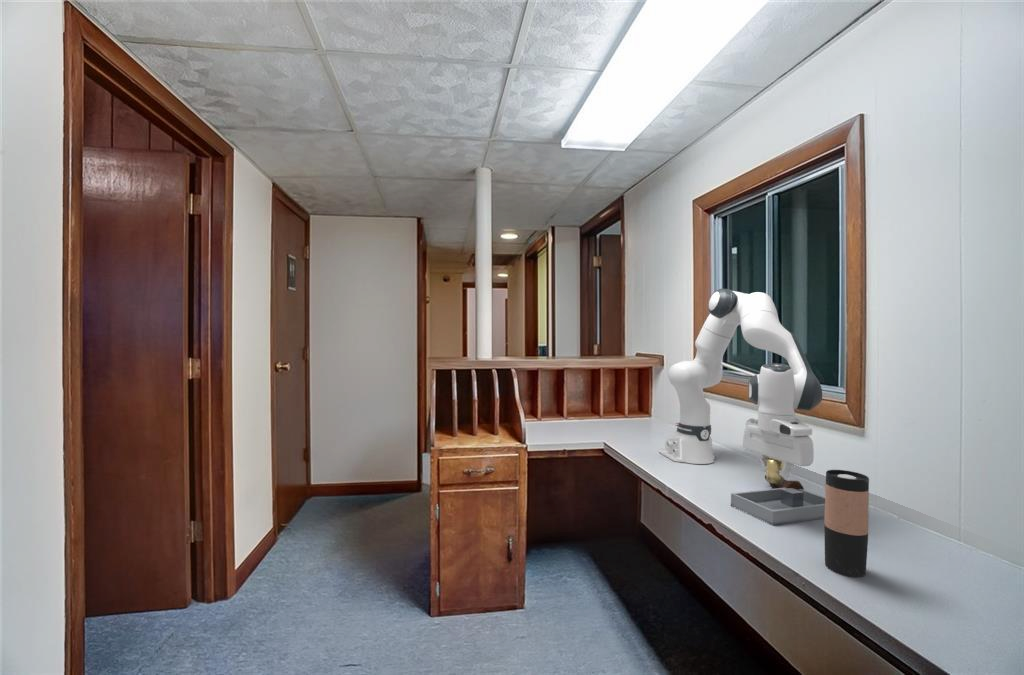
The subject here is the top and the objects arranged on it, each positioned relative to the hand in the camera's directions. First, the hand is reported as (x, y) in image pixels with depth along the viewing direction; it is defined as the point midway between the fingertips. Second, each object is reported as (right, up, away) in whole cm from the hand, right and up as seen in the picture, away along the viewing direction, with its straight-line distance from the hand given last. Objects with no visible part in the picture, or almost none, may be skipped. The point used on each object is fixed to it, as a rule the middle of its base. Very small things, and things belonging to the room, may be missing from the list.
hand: (775, 474), depth 132 cm
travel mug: (-1, -12, -30) cm, 32 cm away
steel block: (+9, -11, +7) cm, 16 cm away
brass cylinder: (0, -2, 0) cm, 2 cm away
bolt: (+13, -11, +20) cm, 26 cm away
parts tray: (+5, -11, +4) cm, 13 cm away
